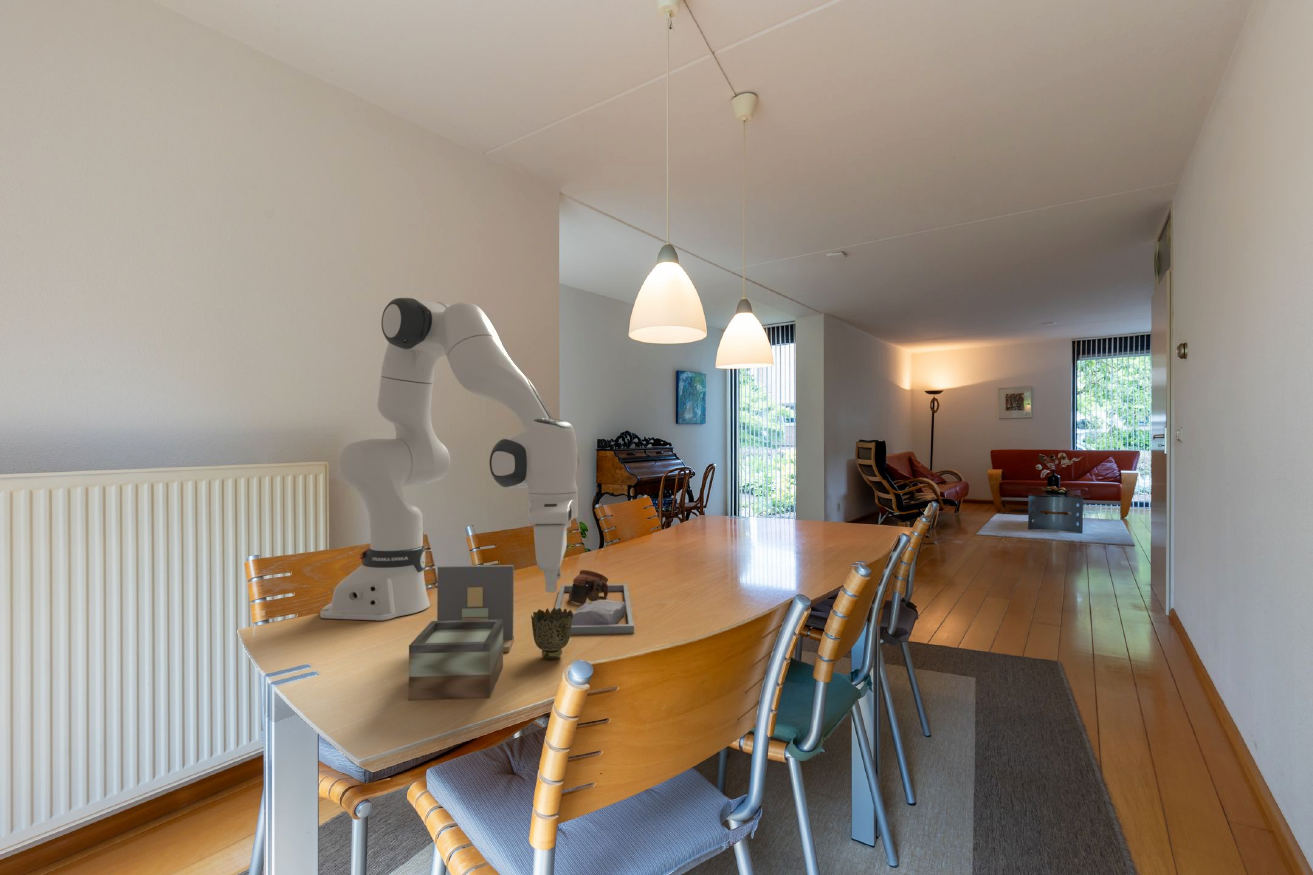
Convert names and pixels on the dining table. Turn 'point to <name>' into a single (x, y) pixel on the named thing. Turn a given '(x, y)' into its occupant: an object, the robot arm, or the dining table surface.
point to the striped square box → (456, 659)
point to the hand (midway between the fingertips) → (553, 585)
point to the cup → (551, 631)
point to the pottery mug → (588, 587)
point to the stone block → (599, 613)
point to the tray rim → (602, 628)
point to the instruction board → (477, 595)
